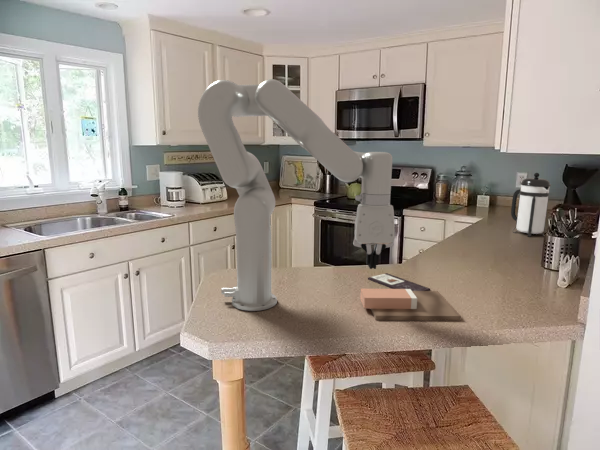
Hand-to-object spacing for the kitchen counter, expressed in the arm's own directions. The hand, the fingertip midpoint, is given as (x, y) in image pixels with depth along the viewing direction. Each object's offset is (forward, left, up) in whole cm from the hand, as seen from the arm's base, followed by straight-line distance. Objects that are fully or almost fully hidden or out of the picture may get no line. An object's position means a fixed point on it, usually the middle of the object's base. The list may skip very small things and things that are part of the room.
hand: (372, 267), depth 115 cm
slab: (-2, 0, -9) cm, 9 cm away
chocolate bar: (+12, +19, -12) cm, 26 cm away
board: (+11, +1, -12) cm, 16 cm away
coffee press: (+94, +94, -12) cm, 133 cm away
